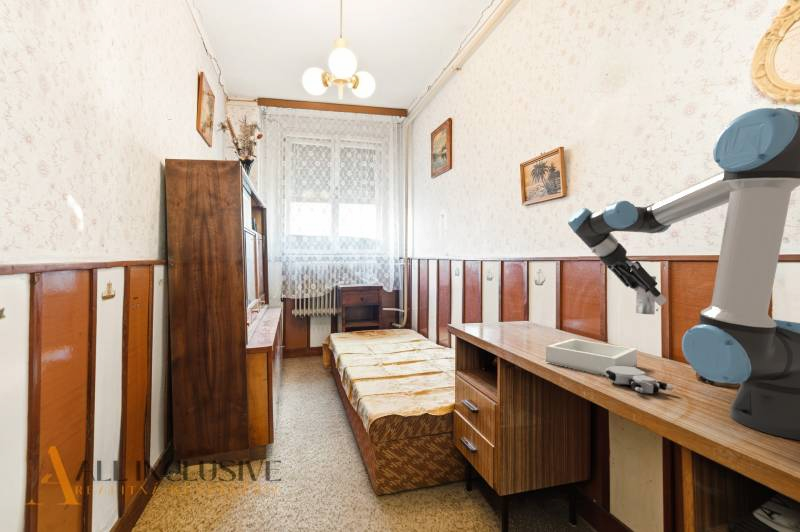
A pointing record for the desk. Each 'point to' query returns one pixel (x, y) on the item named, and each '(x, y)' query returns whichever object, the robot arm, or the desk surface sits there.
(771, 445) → the desk surface
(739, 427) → the desk surface
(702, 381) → the bread roll
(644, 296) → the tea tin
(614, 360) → the bin
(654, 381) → the robot toy
